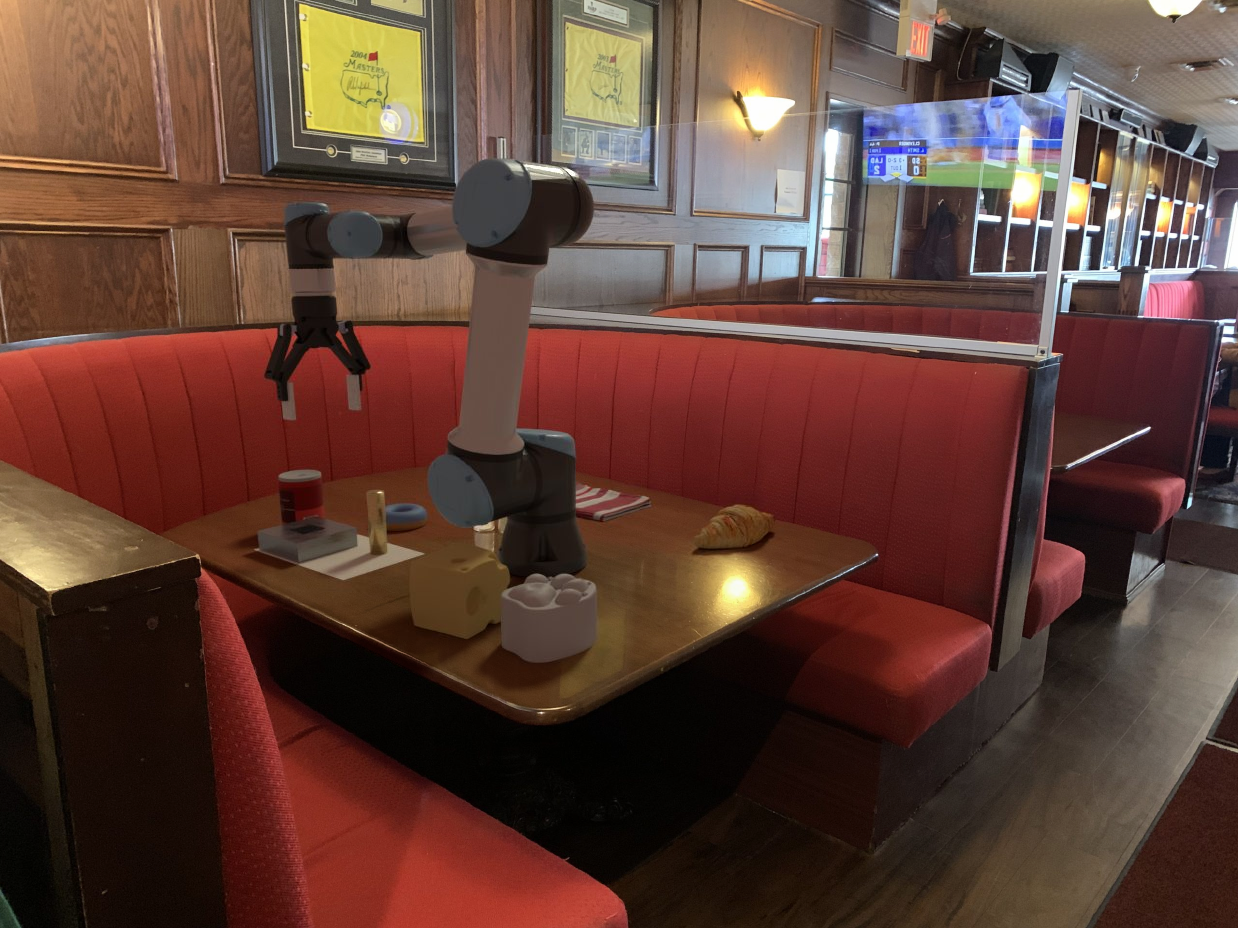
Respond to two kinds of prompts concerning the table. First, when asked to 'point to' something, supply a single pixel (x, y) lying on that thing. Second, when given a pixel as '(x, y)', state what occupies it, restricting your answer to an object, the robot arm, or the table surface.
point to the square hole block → (307, 539)
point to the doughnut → (405, 517)
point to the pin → (377, 522)
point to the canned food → (300, 495)
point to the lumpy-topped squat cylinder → (549, 617)
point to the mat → (355, 560)
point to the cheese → (457, 589)
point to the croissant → (735, 528)
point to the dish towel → (606, 503)
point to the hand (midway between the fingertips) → (323, 414)
